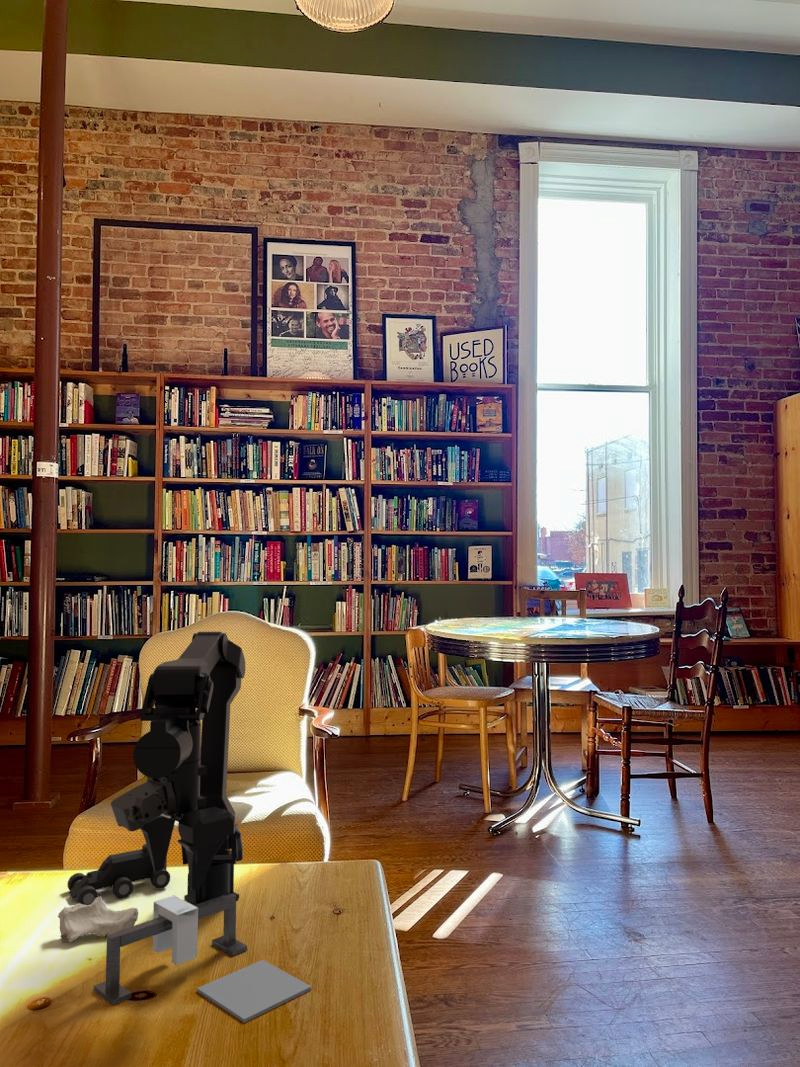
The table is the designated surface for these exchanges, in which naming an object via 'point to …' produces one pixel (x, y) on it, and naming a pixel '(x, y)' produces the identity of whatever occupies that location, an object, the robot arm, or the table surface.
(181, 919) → the c link
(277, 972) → the mat
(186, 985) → the table surface
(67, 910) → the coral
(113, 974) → the stand
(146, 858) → the toy vehicle
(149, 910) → the table surface
